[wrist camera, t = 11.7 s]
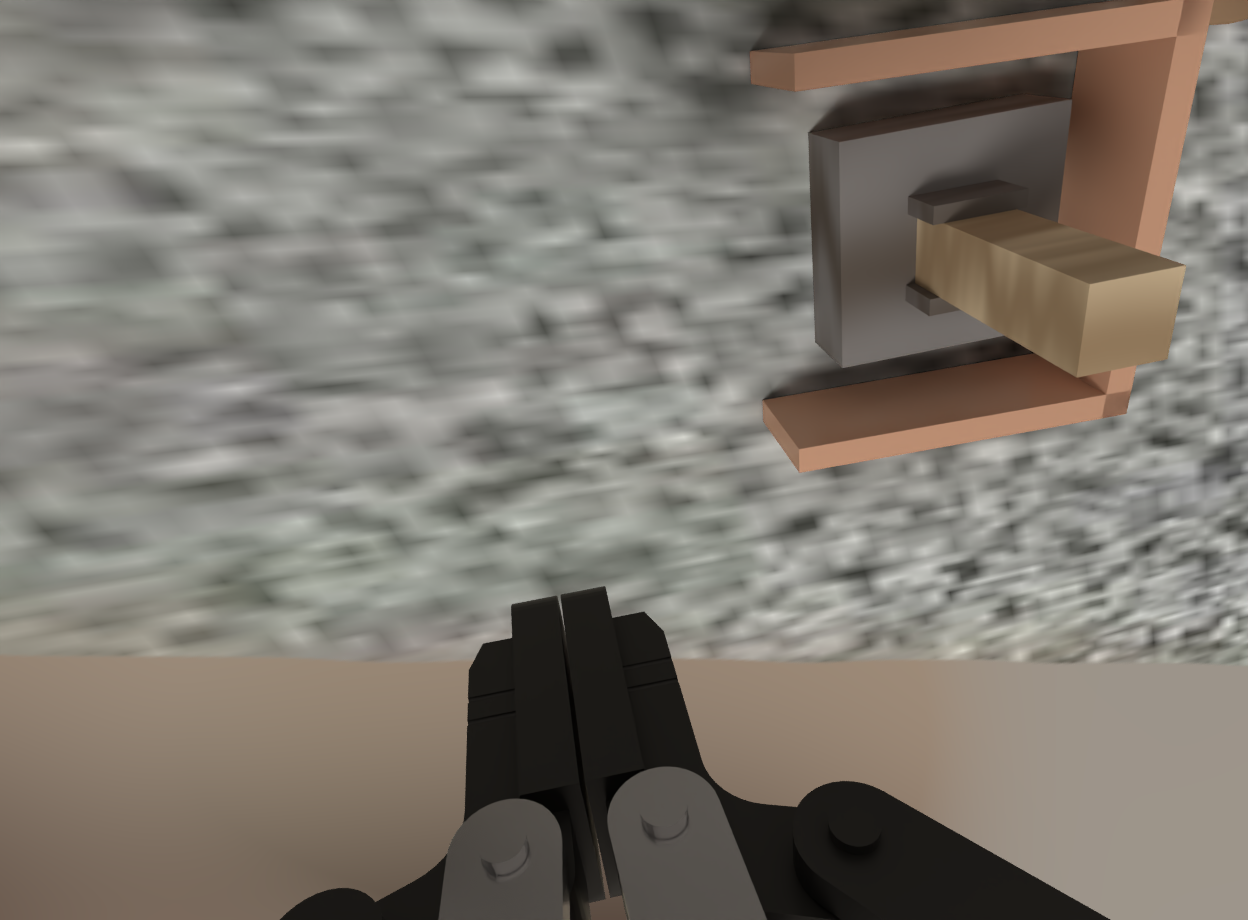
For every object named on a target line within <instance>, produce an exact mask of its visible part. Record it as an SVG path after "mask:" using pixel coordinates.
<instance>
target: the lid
mask: <svg viewBox="0 0 1248 920" xmlns="http://www.w3.org/2000/svg"><path fill="white" fill-rule="evenodd" d="M1245 19H1248V0H1214V3H1213V7H1212V12H1211V17H1210V22H1209V25H1218V24H1229V23H1234V22H1238V21H1243V20H1245Z"/></svg>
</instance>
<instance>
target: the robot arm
mask: <svg viewBox="0 0 1248 920" xmlns="http://www.w3.org/2000/svg"><path fill="white" fill-rule="evenodd" d="M561 603H562V610H563V618H564V625H563V620H562V615H561V610H560V606H559V601H558V597H557V596H552V597H547V598H542V599H537V600H532V601H527V602H522V603H516V604H512V606H511V616H512V638H510V639H505V640H500V641H494V642H489V643H484V644H483V645H482V647H481V649H480V650H479V652H478V654H477V656H476V658H475V660H474V662H473V664H472V665H471V667H470V669H469V685H468V699H469V703H468V726H467V756H466V791H465V815H464V822H463V824H462V826H461V827H460V828H459V829H458V831H457V832H456V834H455V836H454V837H453V839H452V842H451V844H450V846H449V849H448V853H447V854H446V856H445V857H444V858H443V859H442V860H441V861H440V862H439V863H438V864H437V865H436V866H435V867H434V868H433V869H431V870H430V871H429V872H428V873H426V874H425V875H423V876H422V877H420V878H419V879H417V880H415V881H414V882H412V883H410V884H408V885H406V886H405V887H403V888H401V889H399V890H397V891H395V892H393V893H391V894H390V895H388V896H386V897H384V898H382V899H380V900H379V901H377V902H375V901H374V900H373V899H372V898H371V897H370V896H368V895H367V894H366V893H363V892H361V891H359V890H355V889H349V888H337V889H331V890H327V891H324V892H321V893H317V894H315V895H313V896H311V897H309V898H307V899H305V900H304V901H302V902H301V903H299V904H298V905H296V906H295V907H294V908H292V909H291V910H290V911H289V912H287V913H286V914H285V915H284V916H283V917H282V918H281V919H280V920H591V915H590V906H589V903H591V902H595V901H600V900H604V899H605V892H604V885H603V877H602V870H601V863H600V855H599V848H600V852H601V856H602V861H603V866H604V870H605V875H606V880H607V884H608V889H609V893H610V898H611V897H615V896H620V895H622V898H623V902H624V907H625V912H626V916H627V920H1110V919H1108V918H1106V917H1105V916H1103V915H1101V914H1099V913H1098V912H1096V911H1094V910H1092V909H1091V908H1089V907H1087V906H1085V905H1083V904H1082V903H1080V902H1078V901H1076V900H1075V899H1073V898H1071V897H1069V896H1067V895H1066V894H1064V893H1062V892H1060V891H1059V890H1057V889H1055V888H1053V887H1051V886H1050V885H1048V884H1046V883H1045V882H1043V881H1041V880H1039V879H1038V878H1036V877H1034V876H1032V875H1030V874H1029V873H1027V872H1025V871H1023V870H1022V869H1020V868H1018V867H1016V866H1014V865H1013V864H1011V863H1009V862H1007V861H1006V860H1004V859H1002V858H1000V857H999V856H997V855H995V854H993V853H992V852H990V851H988V850H986V849H985V848H983V847H981V846H979V845H977V844H976V843H974V842H972V841H970V840H969V839H967V838H965V837H963V836H962V835H960V834H958V833H956V832H954V831H953V830H951V829H949V828H947V827H945V826H944V825H942V824H940V823H938V822H937V821H935V820H933V819H931V818H930V817H928V816H926V815H924V814H923V813H921V812H919V811H917V810H915V809H914V808H912V807H910V806H909V805H907V804H905V803H903V802H901V801H900V800H898V799H896V798H894V797H892V796H891V795H889V794H887V793H886V792H884V791H882V790H880V789H878V788H875V787H873V786H870V785H867V784H863V783H858V782H850V781H840V782H832V783H829V784H825V785H822V786H820V787H818V788H816V789H814V790H813V791H811V792H810V793H808V794H807V795H806V796H805V797H804V798H803V799H802V801H801V802H800V804H799V805H798V807H788V806H778V805H766V804H759V803H753V802H749V801H746V800H743V799H740V798H738V797H736V796H733V795H732V794H730V793H728V792H727V791H725V790H723V789H722V788H721V787H720V786H719V785H718V784H717V783H715V781H714V780H713V779H712V778H711V777H710V776H709V774H708V772H707V771H706V769H705V767H704V765H703V762H702V760H701V756H700V753H699V749H698V746H697V743H696V740H695V736H694V732H693V729H692V726H691V722H690V719H689V716H688V712H687V709H686V705H685V702H684V698H683V695H682V692H681V688H680V685H679V683H678V679H677V675H676V672H675V668H674V665H673V661H672V659H671V654H670V651H669V648H668V644H667V641H666V638H665V634H664V631H663V630H662V629H661V628H660V627H659V626H658V625H657V624H656V623H655V622H654V621H653V620H652V619H651V618H650V617H649V616H648V615H647V614H646V613H645V612H640V613H635V614H630V615H625V616H620V617H615V618H612V615H611V610H610V606H609V601H608V596H607V592H606V588H605V586H603V587H598V588H592V589H587V590H582V591H577V592H572V593H567V594H562V595H561ZM564 626H565V630H564ZM565 633H566V634H565ZM597 839H598V840H597ZM598 843H599V848H598Z"/></svg>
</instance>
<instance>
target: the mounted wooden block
mask: <svg viewBox="0 0 1248 920" xmlns="http://www.w3.org/2000/svg"><path fill="white" fill-rule="evenodd" d="M1071 107H1072V99H1066V98H1057V97H1048V96H1039V95H1030V94H1017V95H1011V96H1006V97H1000V98H995V99H989V100H984V101H979V102H973V103H968V104H962V105H957V106H951V107H946V108H940V109H935V110H930V111H924V112H919V113H913V114H908V115H902V116H897V117H891V118H886V119H881V120H875V121H870V122H864V123H859V124H853V125H848V126H842V127H837V128H832V129H826V130H821V131H815V132H810V133H808V139H809V170H810V200H811V230H812V260H813V290H814V320H815V342H816V343H817V344H818V345H819V346H820V347H821V348H822V349H823V350H824V351H825V352H826V353H827V354H828V355H829V356H830V357H831V358H832V359H833V360H834V361H836V362H837V363H838V364H839V365H840V366H841V367H842V368H846V367H851V366H856V365H861V364H866V363H871V362H876V361H881V360H886V359H891V358H896V357H901V356H906V355H911V354H916V353H921V352H926V351H931V350H936V349H941V348H945V347H950V346H955V345H960V344H965V343H970V342H975V341H980V340H985V339H990V338H995V337H1000V336H1006V337H1008V338H1010V339H1011V340H1013V341H1015V342H1017V343H1018V344H1020V345H1022V346H1023V347H1025V348H1027V349H1029V350H1030V351H1032V352H1034V353H1035V354H1037V355H1039V356H1041V357H1042V358H1044V359H1046V360H1047V361H1049V362H1051V363H1052V364H1054V365H1056V366H1058V367H1059V368H1061V369H1063V370H1064V371H1066V372H1068V373H1070V374H1071V375H1073V376H1075V377H1076V378H1077V377H1082V376H1087V375H1092V374H1097V373H1102V372H1107V371H1111V370H1116V369H1121V368H1126V367H1131V366H1136V365H1141V364H1146V363H1150V362H1155V361H1160V360H1165V359H1167V358H1168V353H1169V348H1170V343H1171V338H1172V333H1173V328H1174V323H1175V318H1176V313H1177V308H1178V303H1179V298H1180V293H1181V288H1182V283H1183V278H1184V273H1185V268H1186V265H1184V264H1181V263H1178V262H1175V261H1172V260H1169V259H1166V258H1163V257H1160V256H1157V255H1154V254H1151V253H1148V252H1145V251H1142V250H1139V249H1135V248H1132V247H1129V246H1126V245H1123V244H1120V243H1117V242H1114V241H1111V240H1108V239H1105V238H1102V237H1099V236H1096V235H1093V234H1090V233H1087V232H1084V231H1081V230H1078V229H1075V228H1072V227H1069V226H1066V225H1063V224H1060V223H1058V217H1059V209H1060V200H1061V192H1062V183H1063V175H1064V167H1065V158H1066V150H1067V141H1068V133H1069V124H1070V116H1071Z"/></svg>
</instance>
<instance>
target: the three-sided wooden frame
mask: <svg viewBox="0 0 1248 920" xmlns="http://www.w3.org/2000/svg"><path fill="white" fill-rule="evenodd" d="M1213 3H1214V0H1111V1H1104V2H1097V3H1090V4H1083V5H1076V6H1069V7H1061V8H1054V9H1047V10H1040V11H1033V12H1026V13H1019V14H1012V15H1005V16H997V17H990V18H983V19H976V20H969V21H962V22H955V23H948V24H940V25H933V26H926V27H919V28H912V29H905V30H898V31H891V32H884V33H876V34H869V35H862V36H855V37H848V38H841V39H834V40H827V41H819V42H812V43H805V44H798V45H791V46H784V47H777V48H770V49H763V50H755V51H750V69H751V84H755V85H760V86H766V87H771V88H777V89H783V90H788V91H794V92H796V91H803V90H810V89H817V88H824V87H831V86H838V85H845V84H852V83H858V82H865V81H872V80H879V79H886V78H893V77H900V76H907V75H914V74H921V73H928V72H934V71H941V70H948V69H955V68H962V67H969V66H976V65H983V64H990V63H997V62H1003V61H1010V60H1017V59H1024V58H1031V57H1038V56H1045V55H1052V54H1059V53H1066V52H1073V51H1078V57H1077V64H1076V71H1075V78H1074V85H1073V92H1072V107H1071V116H1070V124H1069V133H1068V141H1067V150H1066V158H1065V167H1064V175H1063V183H1062V192H1061V200H1060V209H1059V217H1058V223H1060V224H1063V225H1066V226H1069V227H1072V228H1075V229H1078V230H1081V231H1084V232H1087V233H1090V234H1093V235H1096V236H1099V237H1102V238H1105V239H1108V240H1111V241H1114V242H1117V243H1120V244H1123V245H1126V246H1129V247H1132V248H1135V249H1139V250H1142V251H1145V252H1148V253H1151V254H1154V255H1157V256H1160V252H1161V248H1162V243H1163V238H1164V234H1165V229H1166V224H1167V219H1168V215H1169V210H1170V205H1171V201H1172V196H1173V191H1174V186H1175V182H1176V177H1177V172H1178V168H1179V163H1180V158H1181V154H1182V149H1183V144H1184V139H1185V135H1186V130H1187V125H1188V121H1189V116H1190V111H1191V106H1192V102H1193V97H1194V92H1195V88H1196V83H1197V78H1198V73H1199V69H1200V64H1201V59H1202V55H1203V50H1204V45H1205V40H1206V36H1207V31H1208V26H1209V22H1210V17H1211V12H1212V7H1213ZM1136 366H1137V365H1136ZM1136 366H1131V367H1126V368H1121V369H1116V370H1111V371H1107V372H1102V373H1097V374H1092V375H1087V376H1082V377H1077V378H1076V377H1075V376H1073V375H1071V374H1070V373H1068V372H1066V371H1064V370H1063V369H1061V368H1059V367H1058V366H1056V365H1054V364H1052V363H1051V362H1049V361H1047V360H1046V359H1044V358H1042V357H1041V356H1039V355H1037V354H1035V353H1032V354H1027V355H1021V356H1015V357H1009V358H1004V359H998V360H992V361H986V362H980V363H975V364H969V365H963V366H957V367H951V368H946V369H940V370H934V371H928V372H923V373H917V374H911V375H905V376H899V377H894V378H888V379H882V380H876V381H870V382H865V383H859V384H853V385H847V386H842V387H836V388H830V389H824V390H818V391H813V392H807V393H801V394H795V395H789V396H784V397H778V398H772V399H766V400H763V422H764V423H765V425H766V426H767V427H768V429H769V430H770V432H771V433H772V435H773V436H774V437H775V439H776V440H777V442H778V443H779V444H780V446H781V447H782V449H783V450H784V452H785V453H786V454H787V456H788V457H789V459H790V460H791V461H792V463H793V464H794V466H795V467H796V469H797V470H798V471H799V473H801V472H806V471H812V470H817V469H823V468H829V467H834V466H840V465H845V464H851V463H856V462H862V461H867V460H873V459H879V458H884V457H890V456H895V455H901V454H906V453H912V452H917V451H923V450H928V449H934V448H940V447H945V446H951V445H956V444H962V443H967V442H973V441H978V440H984V439H990V438H995V437H1001V436H1006V435H1012V434H1017V433H1023V432H1028V431H1034V430H1040V429H1045V428H1051V427H1056V426H1062V425H1067V424H1073V423H1078V422H1084V421H1089V420H1095V419H1101V418H1106V417H1112V416H1117V415H1123V414H1126V413H1127V408H1128V403H1129V398H1130V394H1131V389H1132V384H1133V380H1134V375H1135V370H1136Z"/></svg>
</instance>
